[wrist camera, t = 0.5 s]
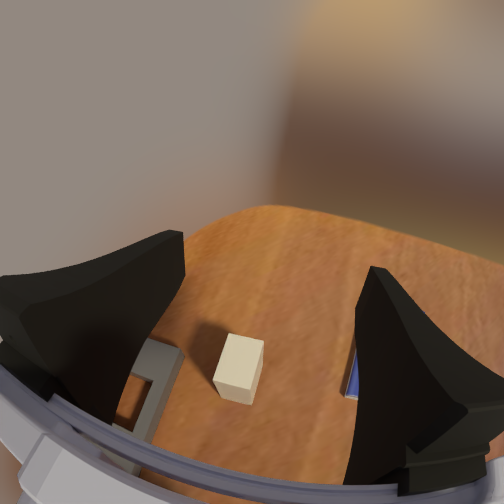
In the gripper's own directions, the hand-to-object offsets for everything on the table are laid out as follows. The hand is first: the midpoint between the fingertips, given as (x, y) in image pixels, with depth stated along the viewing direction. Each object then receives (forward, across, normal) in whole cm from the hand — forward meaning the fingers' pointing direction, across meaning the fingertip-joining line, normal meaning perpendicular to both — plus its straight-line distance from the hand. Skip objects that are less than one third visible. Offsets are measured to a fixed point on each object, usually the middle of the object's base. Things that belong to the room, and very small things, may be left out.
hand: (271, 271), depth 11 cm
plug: (+7, +2, +18) cm, 19 cm away
